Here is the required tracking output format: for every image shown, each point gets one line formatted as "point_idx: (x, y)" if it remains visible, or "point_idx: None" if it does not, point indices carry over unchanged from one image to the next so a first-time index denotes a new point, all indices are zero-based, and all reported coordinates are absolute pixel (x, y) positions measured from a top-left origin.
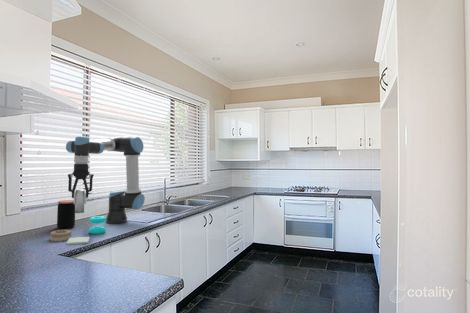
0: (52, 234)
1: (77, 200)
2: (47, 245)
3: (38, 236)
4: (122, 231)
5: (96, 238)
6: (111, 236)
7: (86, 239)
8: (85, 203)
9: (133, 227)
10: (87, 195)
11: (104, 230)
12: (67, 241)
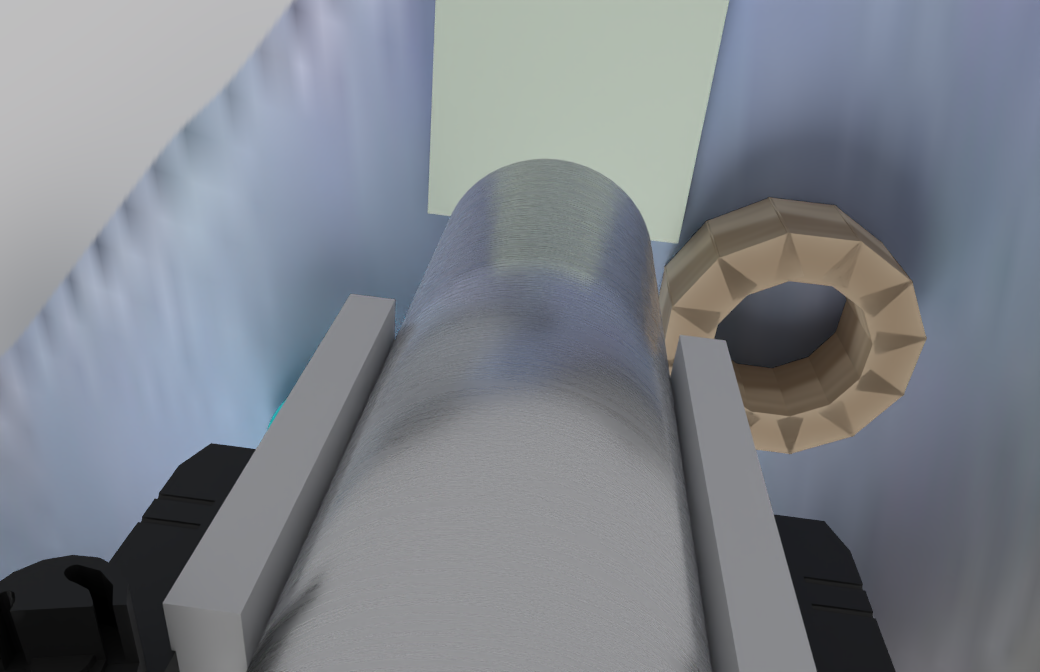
0: (906, 277)
1: (609, 349)
2: (970, 12)
3: (990, 481)
4: (88, 400)
5: (352, 174)
6: (177, 212)
7: (466, 74)
8: (350, 301)
9: (2, 523)
10: (175, 516)
11: (274, 415)
12: (715, 45)
